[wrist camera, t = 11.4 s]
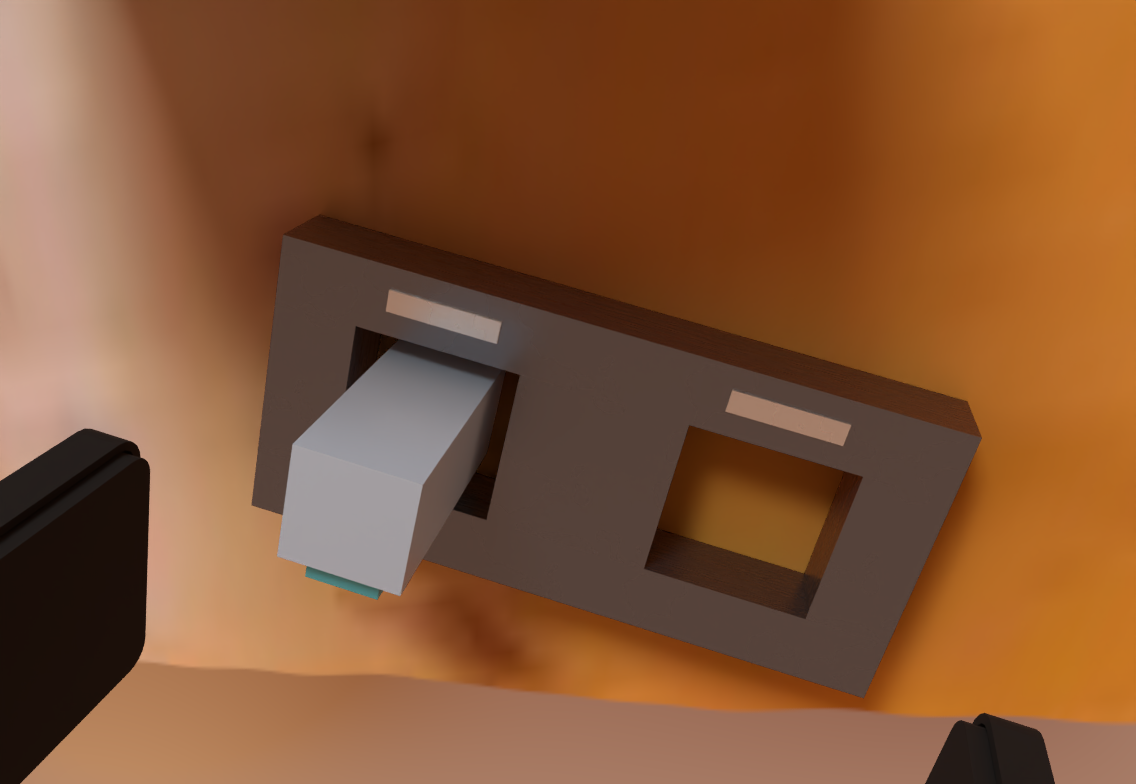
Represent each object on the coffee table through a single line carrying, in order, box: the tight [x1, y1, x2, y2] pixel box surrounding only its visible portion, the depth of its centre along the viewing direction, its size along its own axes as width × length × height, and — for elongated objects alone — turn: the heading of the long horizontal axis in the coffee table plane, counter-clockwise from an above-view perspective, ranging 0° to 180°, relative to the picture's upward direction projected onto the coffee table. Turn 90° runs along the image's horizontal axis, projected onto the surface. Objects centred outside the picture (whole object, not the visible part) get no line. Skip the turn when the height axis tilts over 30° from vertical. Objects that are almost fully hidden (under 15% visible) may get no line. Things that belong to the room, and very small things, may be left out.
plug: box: [277, 339, 506, 600], centre depth 35 cm, size 4×5×10 cm
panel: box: [252, 215, 982, 698], centre depth 38 cm, size 24×11×3 cm, turn 76°
